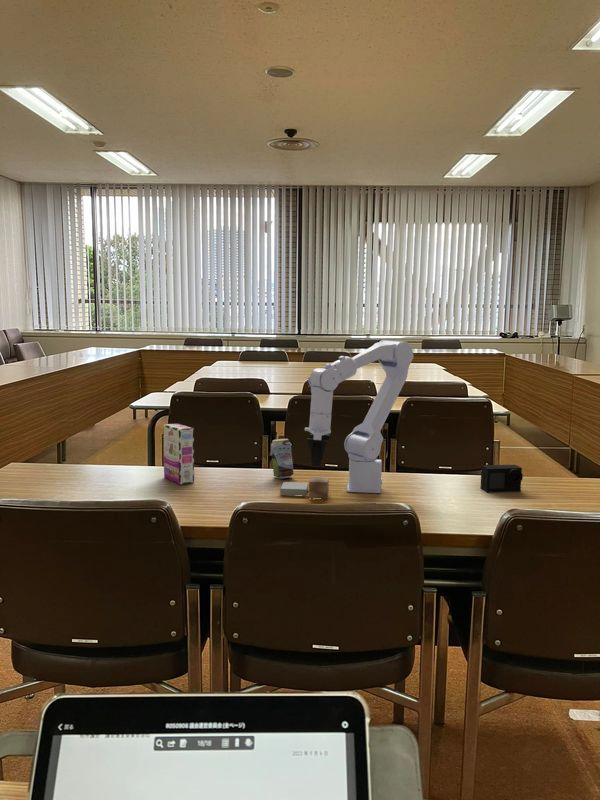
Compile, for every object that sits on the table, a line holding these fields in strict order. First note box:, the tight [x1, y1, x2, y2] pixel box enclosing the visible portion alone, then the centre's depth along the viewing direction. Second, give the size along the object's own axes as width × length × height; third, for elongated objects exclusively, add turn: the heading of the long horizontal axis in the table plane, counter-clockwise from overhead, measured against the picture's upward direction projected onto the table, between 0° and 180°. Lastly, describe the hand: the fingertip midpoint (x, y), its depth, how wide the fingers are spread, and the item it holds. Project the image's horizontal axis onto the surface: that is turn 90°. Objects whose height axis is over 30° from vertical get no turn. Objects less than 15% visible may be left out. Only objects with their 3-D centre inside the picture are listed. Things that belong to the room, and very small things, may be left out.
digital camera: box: [480, 464, 524, 493], centre depth 184 cm, size 10×5×7 cm, turn 99°
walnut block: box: [308, 476, 330, 499], centre depth 176 cm, size 5×5×5 cm
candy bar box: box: [163, 423, 195, 486], centre depth 191 cm, size 11×5×16 cm, turn 36°
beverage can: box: [270, 438, 295, 479], centre depth 196 cm, size 6×7×12 cm
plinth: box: [280, 481, 309, 497], centre depth 180 cm, size 7×7×2 cm
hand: (317, 462), depth 175 cm, fingers open, 7 cm apart
